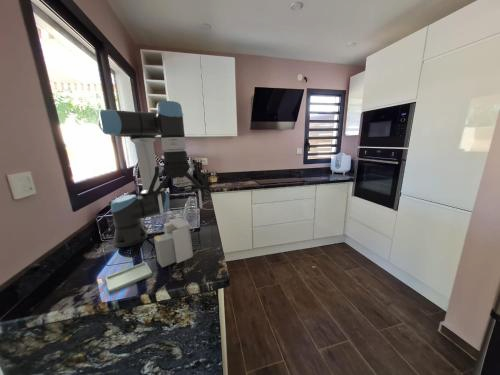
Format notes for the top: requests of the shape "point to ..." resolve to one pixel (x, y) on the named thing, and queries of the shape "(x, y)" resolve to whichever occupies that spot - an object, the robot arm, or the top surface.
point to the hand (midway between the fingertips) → (182, 209)
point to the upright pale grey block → (165, 249)
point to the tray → (127, 277)
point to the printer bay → (180, 238)
